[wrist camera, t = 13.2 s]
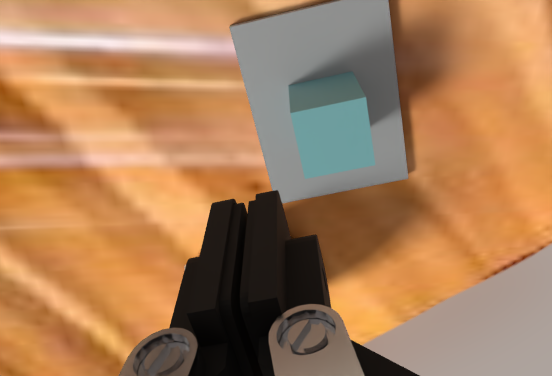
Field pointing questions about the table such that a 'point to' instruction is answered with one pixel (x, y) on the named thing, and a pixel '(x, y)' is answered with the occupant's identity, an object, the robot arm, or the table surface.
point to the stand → (314, 65)
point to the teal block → (331, 125)
